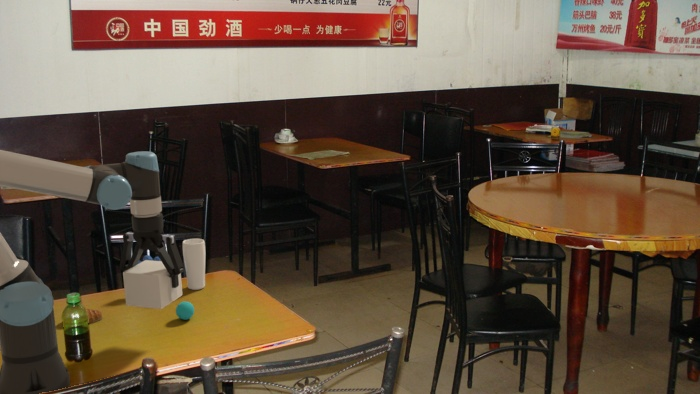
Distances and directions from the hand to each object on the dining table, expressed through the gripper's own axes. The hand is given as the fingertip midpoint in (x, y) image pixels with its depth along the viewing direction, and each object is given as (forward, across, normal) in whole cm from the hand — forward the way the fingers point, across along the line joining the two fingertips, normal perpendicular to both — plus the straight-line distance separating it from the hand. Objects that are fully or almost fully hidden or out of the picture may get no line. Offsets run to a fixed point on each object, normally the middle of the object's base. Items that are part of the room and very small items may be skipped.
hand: (154, 297), depth 193 cm
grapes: (+12, +20, -30) cm, 38 cm away
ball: (+9, 0, -14) cm, 17 cm away
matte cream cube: (+1, 0, 0) cm, 1 cm away
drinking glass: (+12, +10, -38) cm, 41 cm away
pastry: (+12, +28, -5) cm, 31 cm away
